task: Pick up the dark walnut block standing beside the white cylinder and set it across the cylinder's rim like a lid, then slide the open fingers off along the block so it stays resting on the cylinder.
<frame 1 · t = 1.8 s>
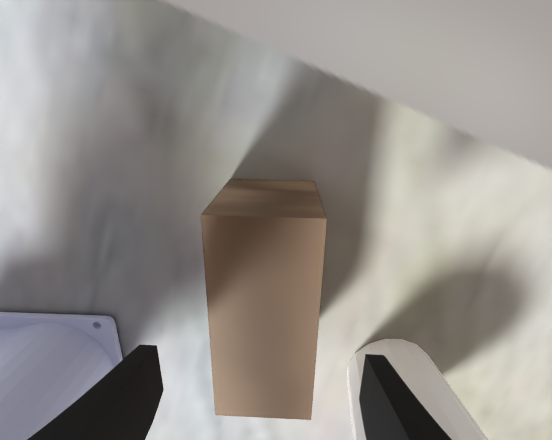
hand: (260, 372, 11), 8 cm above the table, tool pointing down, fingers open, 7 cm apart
white cylinder: (387, 369, 21), on the table
walnut block: (271, 261, 18), on the table
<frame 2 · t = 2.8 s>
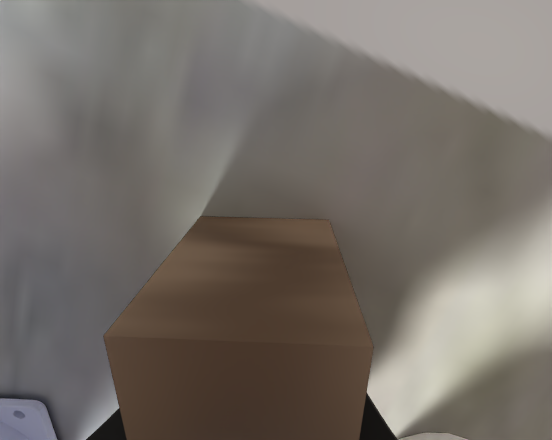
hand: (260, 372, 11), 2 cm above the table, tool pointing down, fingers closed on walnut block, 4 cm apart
walnut block: (264, 333, 12), on the table, touching gripper
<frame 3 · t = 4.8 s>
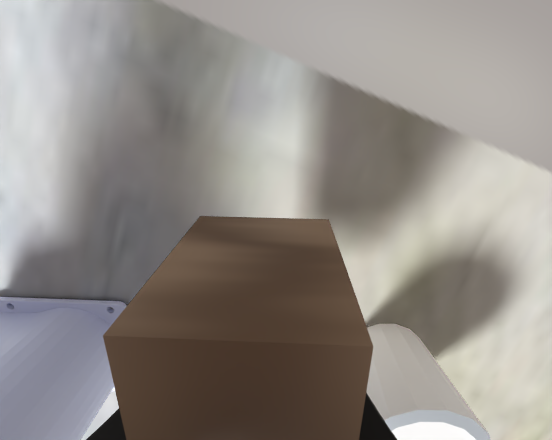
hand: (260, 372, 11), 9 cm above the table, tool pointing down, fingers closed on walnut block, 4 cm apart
white cylinder: (382, 353, 22), on the table
walnut block: (264, 333, 12), point 7 cm above the table, touching gripper
when the fingers open (9 cm above the table, at t = 7.1 s): walnut block stays where it is, resting on white cylinder.
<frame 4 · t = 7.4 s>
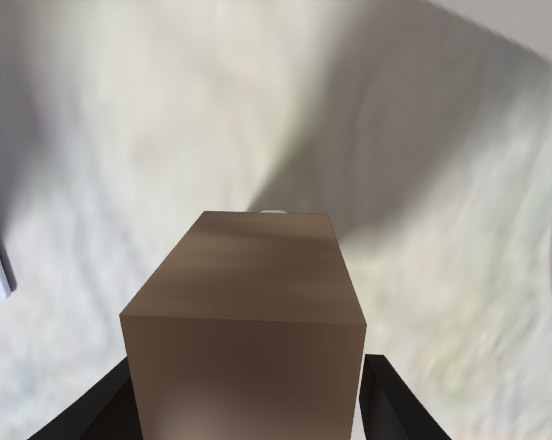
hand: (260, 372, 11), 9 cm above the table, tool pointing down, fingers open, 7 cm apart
walnut block: (265, 324, 13), point 7 cm above the table, touching white cylinder
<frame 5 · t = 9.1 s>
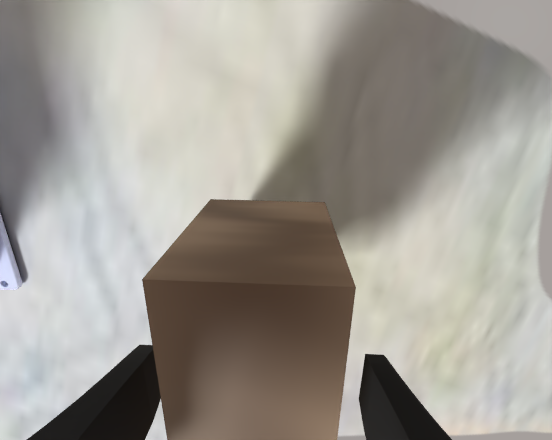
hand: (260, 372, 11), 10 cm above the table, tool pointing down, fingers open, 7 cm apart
walnut block: (266, 307, 14), point 7 cm above the table, touching white cylinder
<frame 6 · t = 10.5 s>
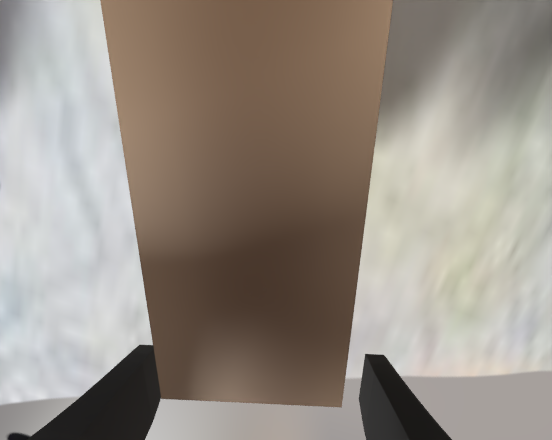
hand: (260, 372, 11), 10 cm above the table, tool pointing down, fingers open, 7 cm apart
walnut block: (267, 161, 12), point 7 cm above the table, touching white cylinder
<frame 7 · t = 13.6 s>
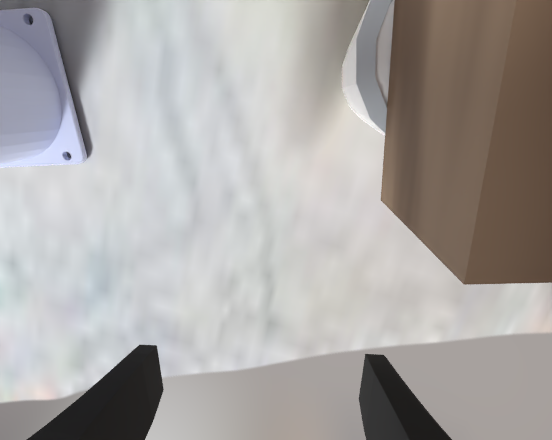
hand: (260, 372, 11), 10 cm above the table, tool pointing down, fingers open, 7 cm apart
white cylinder: (392, 73, 17), on the table, touching walnut block
walnut block: (460, 50, 10), point 7 cm above the table, touching white cylinder
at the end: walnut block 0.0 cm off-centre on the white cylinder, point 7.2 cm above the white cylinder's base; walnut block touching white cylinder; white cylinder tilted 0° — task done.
